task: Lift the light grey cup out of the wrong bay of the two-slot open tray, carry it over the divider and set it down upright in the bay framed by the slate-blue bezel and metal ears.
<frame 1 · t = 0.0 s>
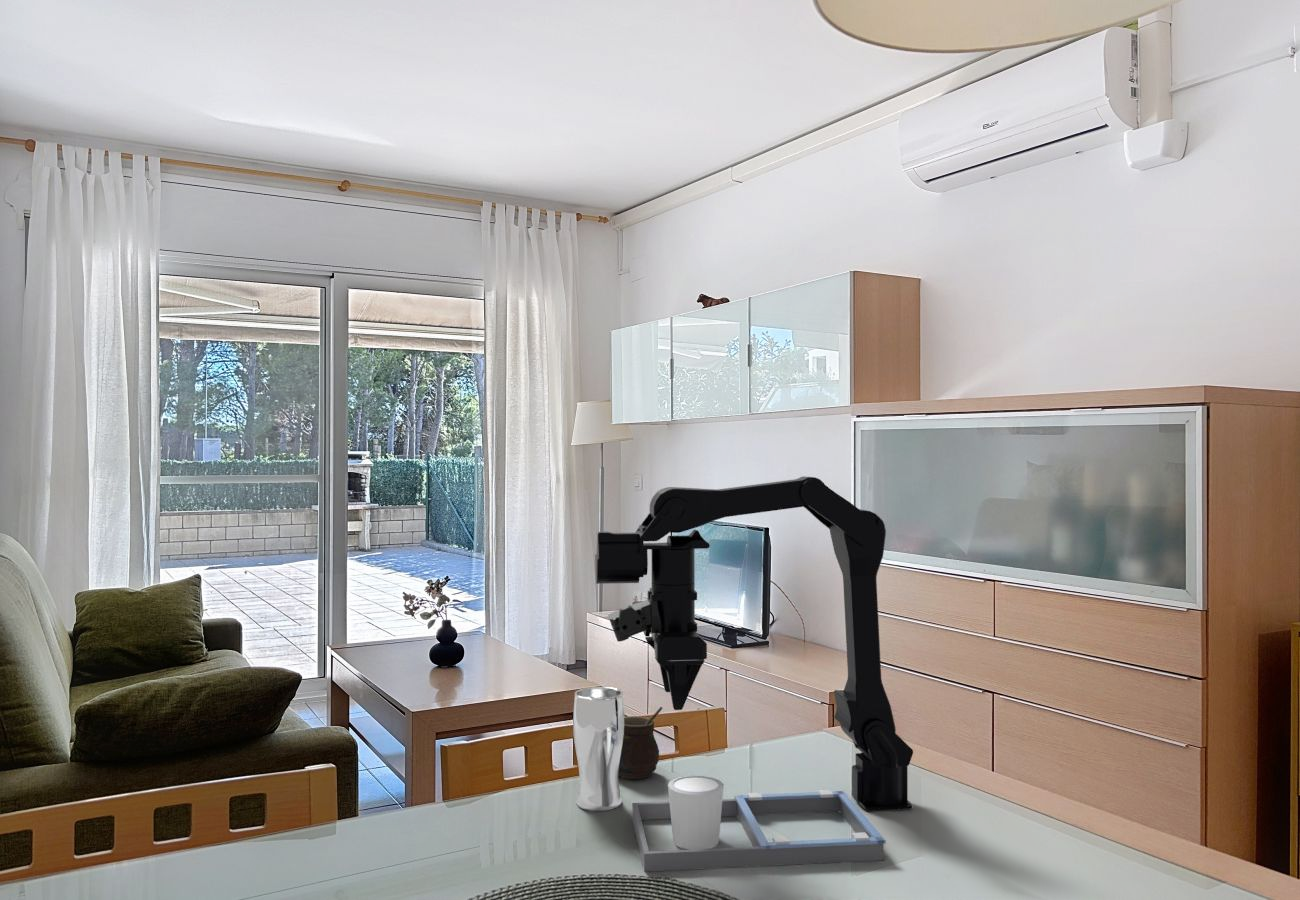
hand: (673, 700, 130), 15 cm above the table, fingers open, 9 cm apart
two-slot open tray: (751, 838, 121), on the table
light grey cup: (696, 842, 120), resting in two-slot open tray
mate gourd: (636, 776, 144), on the table
beer glass: (599, 804, 133), on the table
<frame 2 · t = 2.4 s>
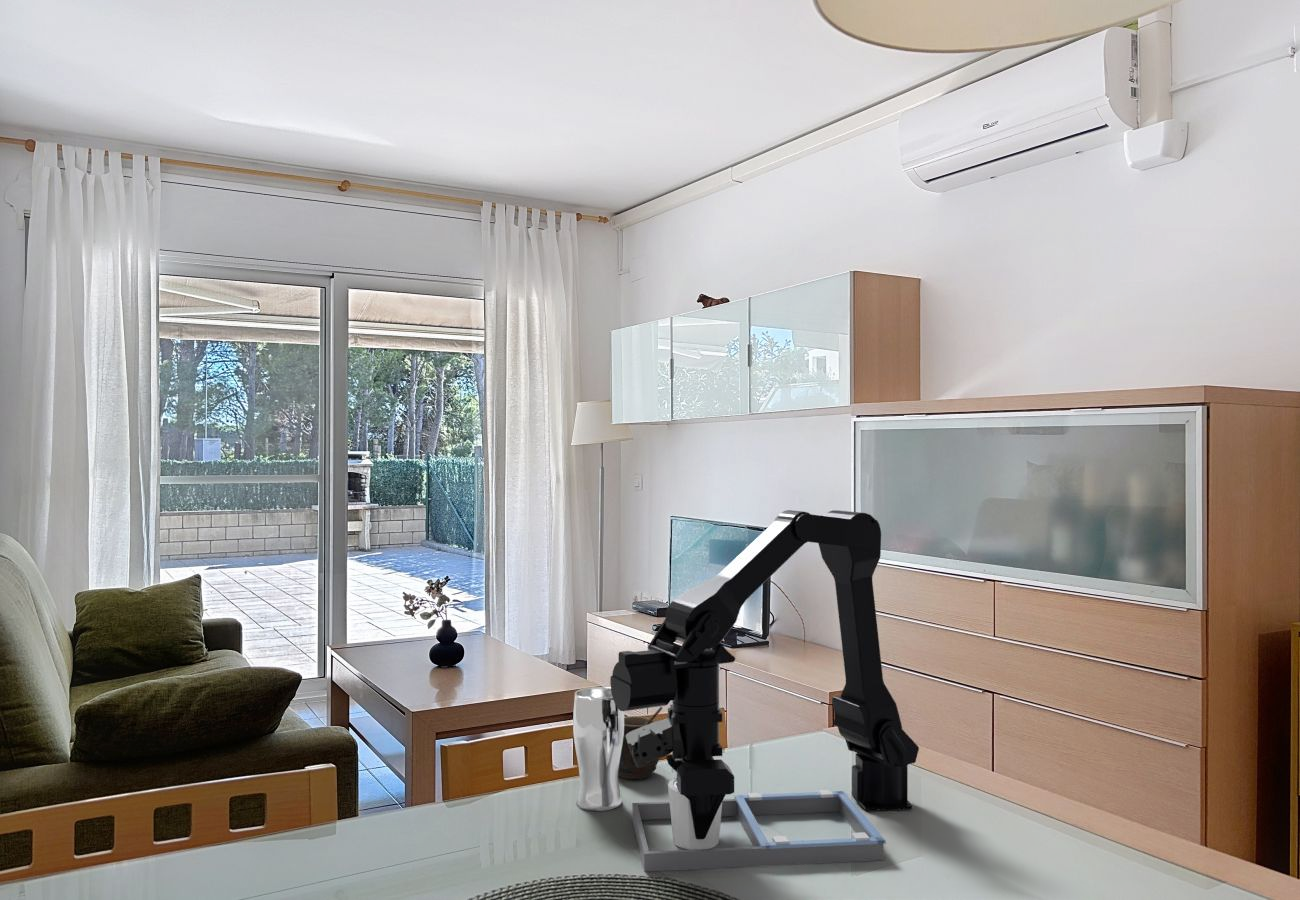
hand: (696, 828, 120), 2 cm above the table, fingers closed on light grey cup, 6 cm apart
light grey cup: (696, 842, 120), resting in two-slot open tray, touching gripper
everything else where it was.
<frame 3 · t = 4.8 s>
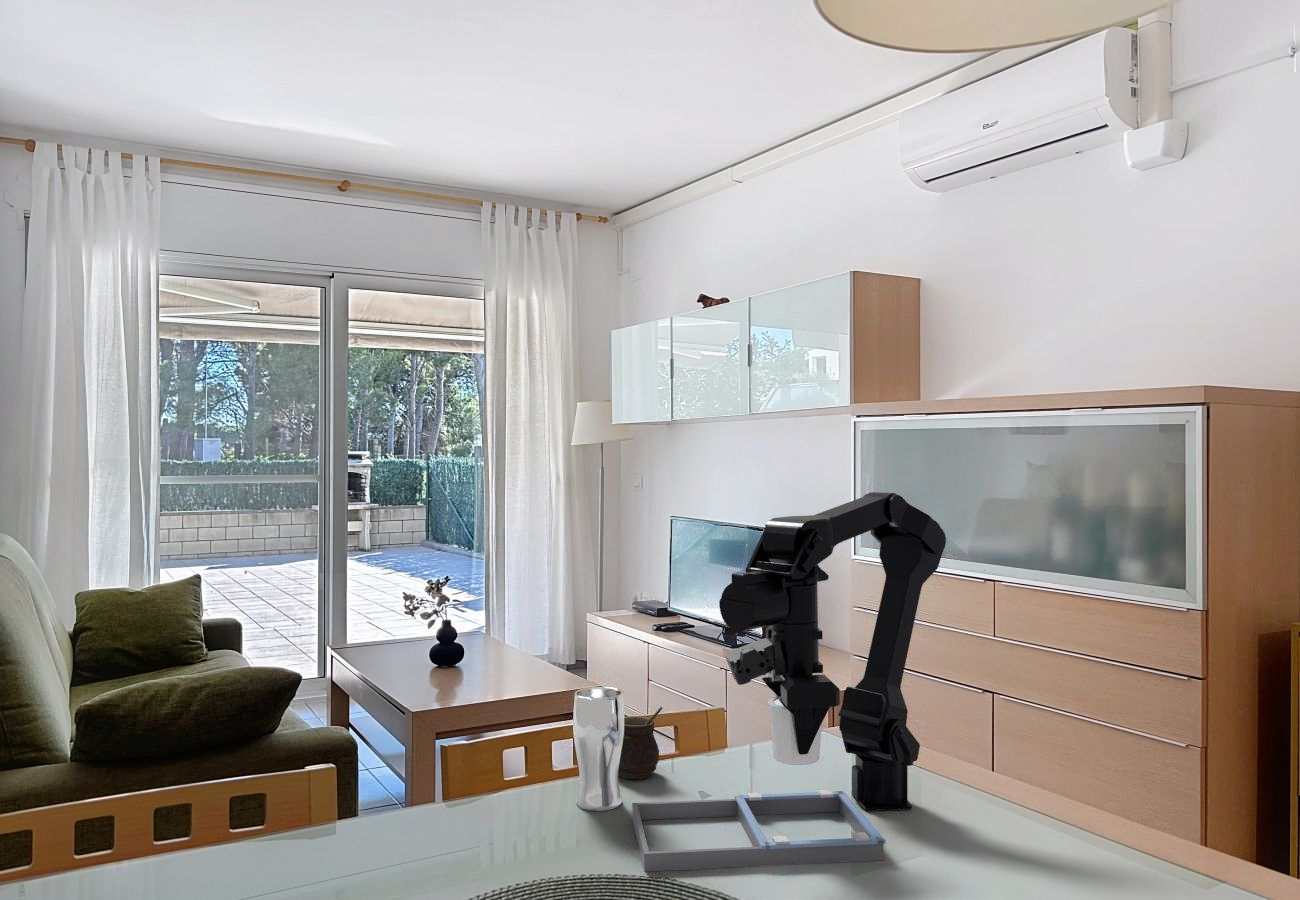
hand: (796, 745, 122), 11 cm above the table, fingers closed on light grey cup, 6 cm apart
light grey cup: (796, 759, 122), point 9 cm above the table, touching gripper
everything else where it was.
when the fingers open (2 cm above the table, at t = 7.5 s): light grey cup stays where it is, resting in two-slot open tray.
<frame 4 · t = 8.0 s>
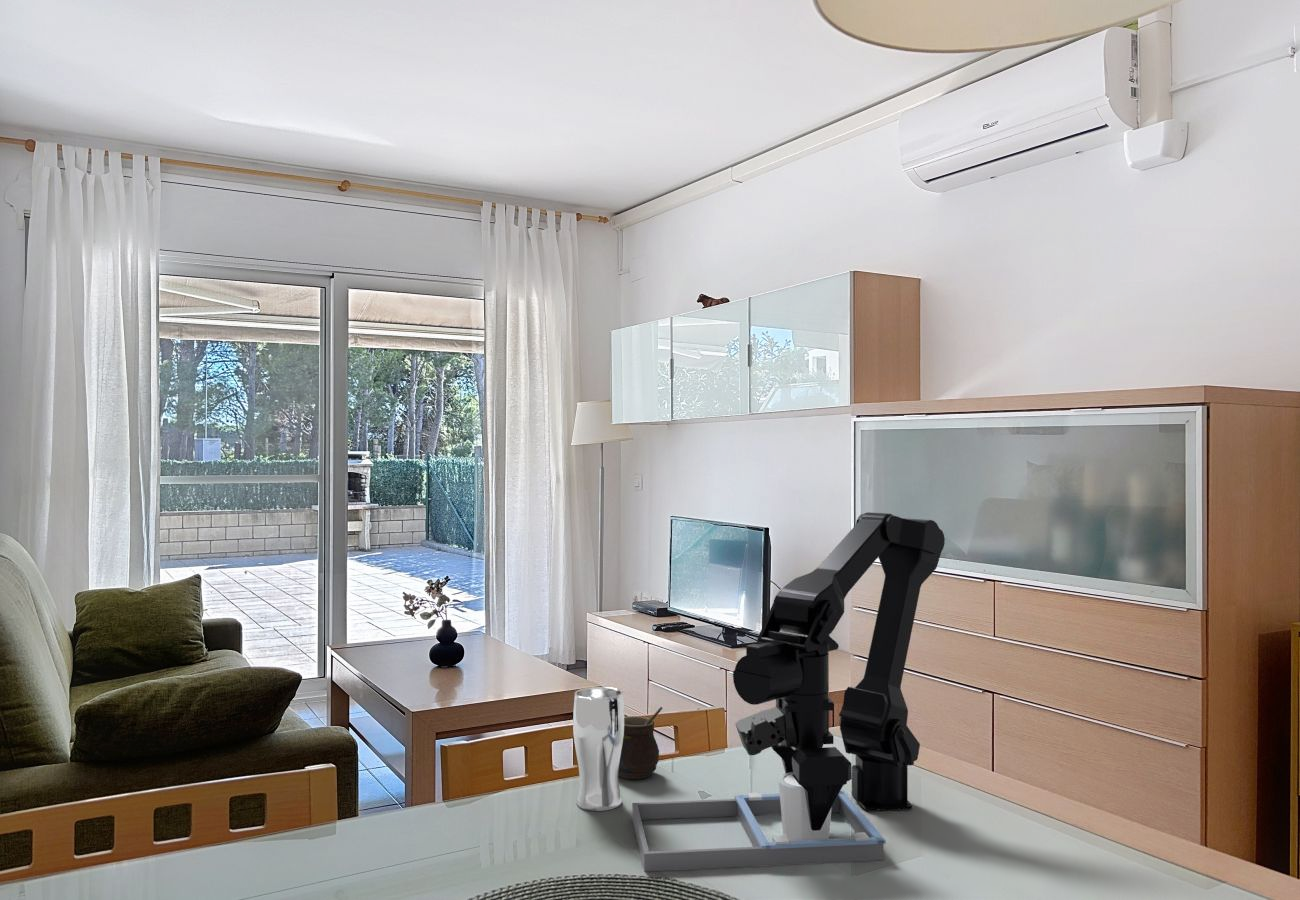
hand: (805, 815, 122), 2 cm above the table, fingers open, 9 cm apart
light grey cup: (805, 837, 122), resting in two-slot open tray
everything else where it was.
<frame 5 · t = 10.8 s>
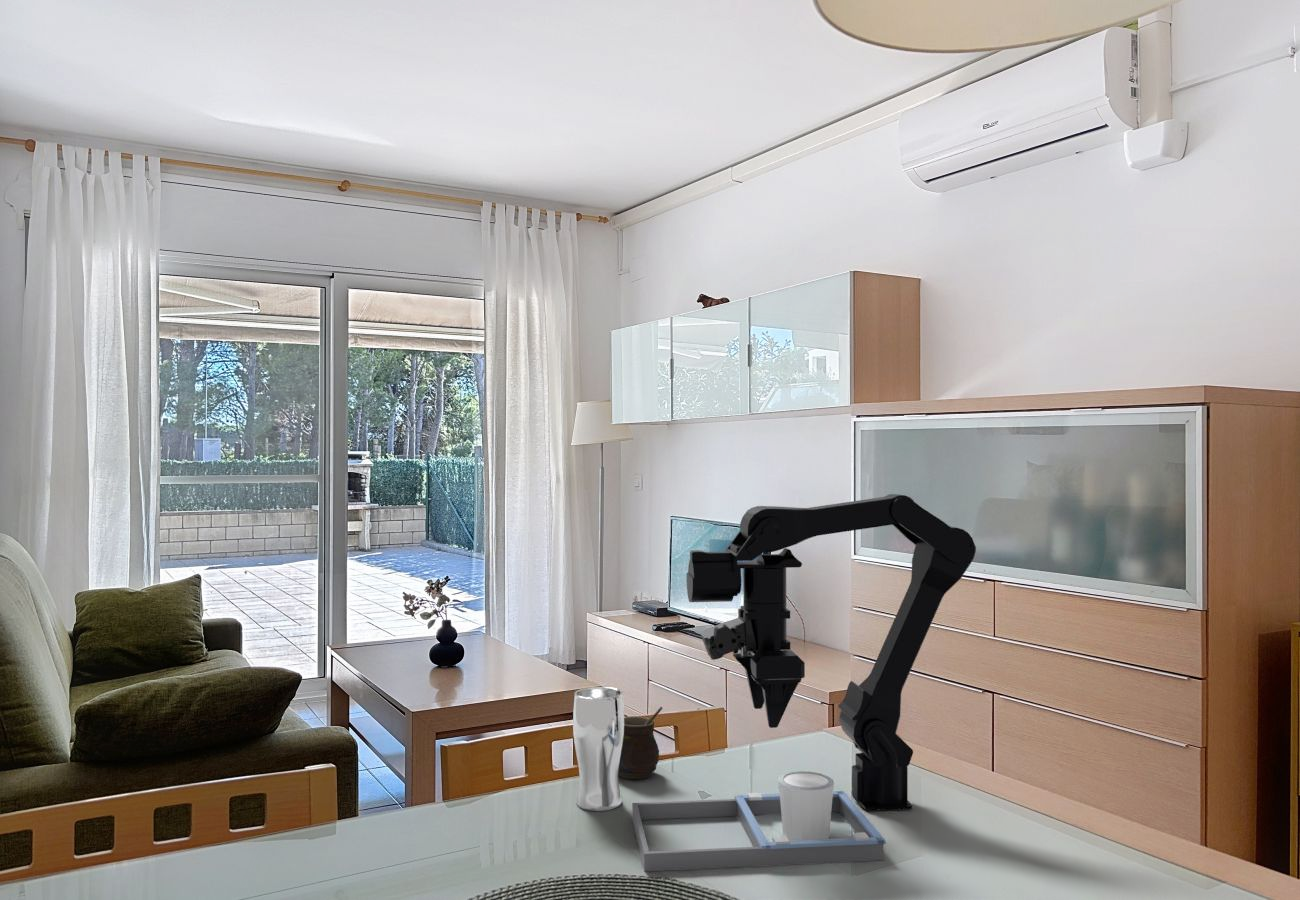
hand: (765, 717, 131), 12 cm above the table, fingers open, 9 cm apart
nothing on the table moved.
at the end: light grey cup inside the target area (0.2 cm from its centre), resting in two-slot open tray; light grey cup tilted 0°; the gripper is holding nothing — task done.
